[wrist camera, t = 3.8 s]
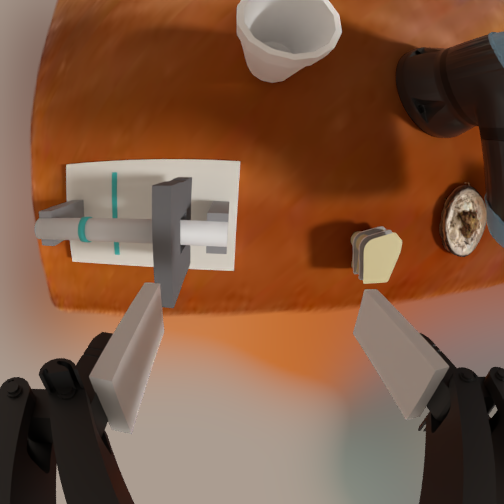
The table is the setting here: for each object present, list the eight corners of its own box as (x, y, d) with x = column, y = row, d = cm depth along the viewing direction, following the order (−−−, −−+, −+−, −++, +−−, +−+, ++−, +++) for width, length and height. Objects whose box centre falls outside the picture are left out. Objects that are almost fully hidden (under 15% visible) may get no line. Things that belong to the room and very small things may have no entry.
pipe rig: (71, 164, 31) (24, 169, 21) (240, 161, 33) (243, 161, 23) (77, 257, 36) (38, 288, 25) (233, 266, 38) (234, 306, 28)
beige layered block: (384, 275, 40) (401, 290, 35) (333, 278, 40) (346, 295, 35) (393, 213, 37) (413, 222, 32) (339, 211, 37) (356, 219, 31)
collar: (178, 177, 29) (151, 185, 19) (192, 177, 29) (171, 185, 19) (178, 262, 32) (156, 306, 22) (190, 263, 32) (173, 308, 22)
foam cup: (275, 23, 27) (294, -29, 15) (320, 69, 30) (361, 33, 18) (219, 58, 29) (214, 10, 16) (266, 107, 31) (285, 78, 19)
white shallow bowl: (490, 217, 39) (504, 222, 35) (452, 273, 42) (466, 282, 38) (462, 160, 35) (478, 162, 31) (419, 222, 38) (434, 228, 34)
